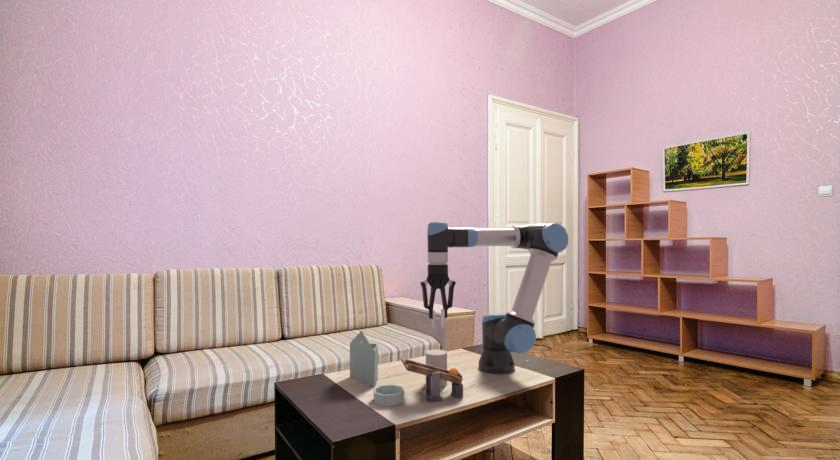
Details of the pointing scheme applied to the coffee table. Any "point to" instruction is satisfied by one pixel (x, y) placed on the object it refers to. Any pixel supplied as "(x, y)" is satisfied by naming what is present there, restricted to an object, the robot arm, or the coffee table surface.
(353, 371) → the planter
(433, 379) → the fulcrum
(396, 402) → the bowl
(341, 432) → the coffee table surface
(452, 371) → the ball
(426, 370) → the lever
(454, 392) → the block
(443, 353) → the pale pink cylinder
